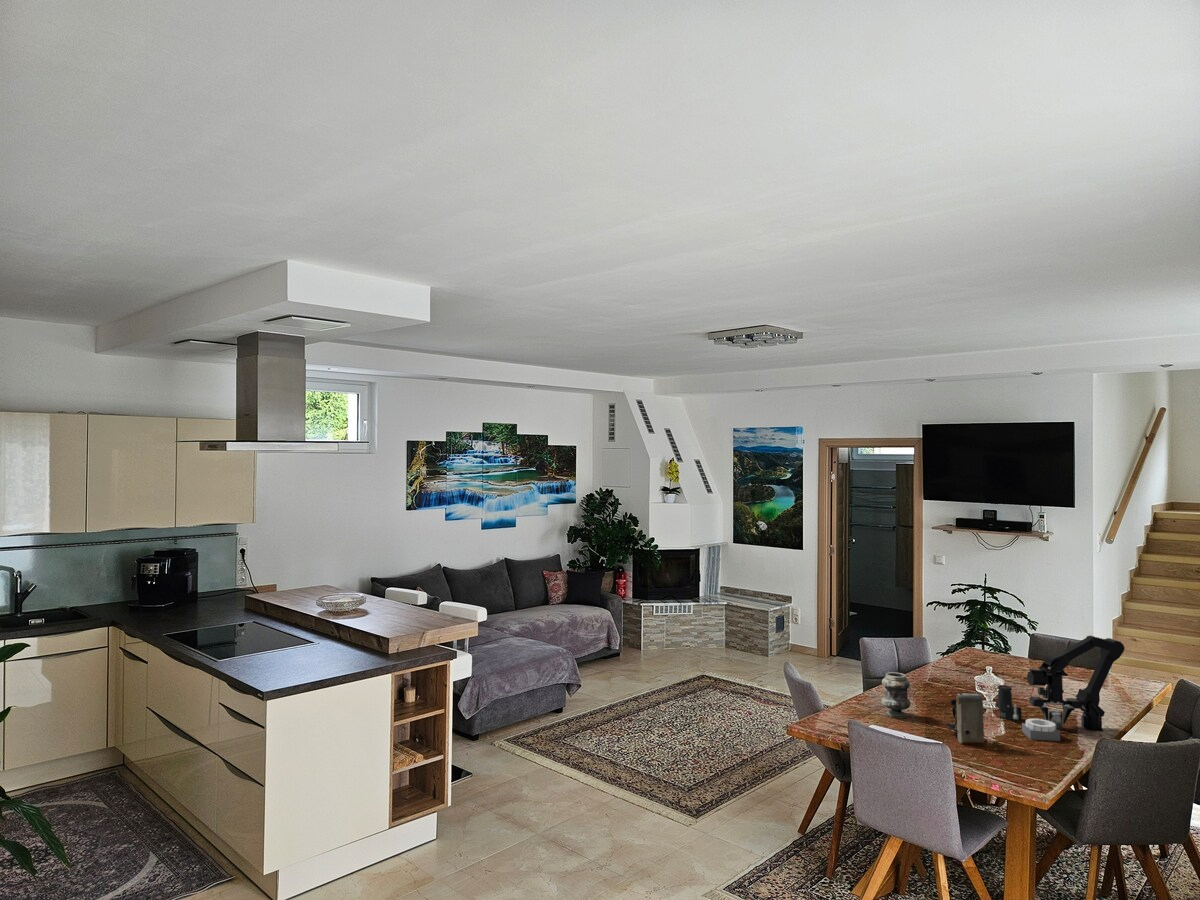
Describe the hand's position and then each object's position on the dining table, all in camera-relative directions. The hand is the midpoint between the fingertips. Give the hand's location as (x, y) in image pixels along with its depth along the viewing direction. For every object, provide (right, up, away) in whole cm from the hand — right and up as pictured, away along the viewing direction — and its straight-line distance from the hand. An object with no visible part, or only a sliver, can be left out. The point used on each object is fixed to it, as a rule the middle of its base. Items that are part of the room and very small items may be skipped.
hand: (1055, 722), depth 333 cm
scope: (-14, -3, +12) cm, 18 cm away
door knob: (0, -2, 0) cm, 2 cm away
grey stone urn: (-61, -3, +17) cm, 63 cm away
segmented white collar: (-12, -2, -11) cm, 16 cm away
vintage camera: (-45, -2, -13) cm, 47 cm away
